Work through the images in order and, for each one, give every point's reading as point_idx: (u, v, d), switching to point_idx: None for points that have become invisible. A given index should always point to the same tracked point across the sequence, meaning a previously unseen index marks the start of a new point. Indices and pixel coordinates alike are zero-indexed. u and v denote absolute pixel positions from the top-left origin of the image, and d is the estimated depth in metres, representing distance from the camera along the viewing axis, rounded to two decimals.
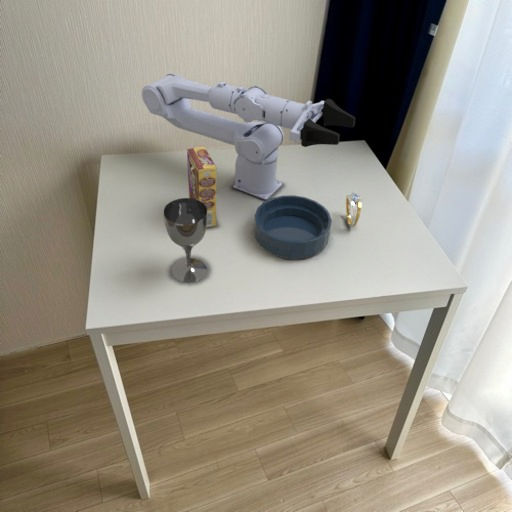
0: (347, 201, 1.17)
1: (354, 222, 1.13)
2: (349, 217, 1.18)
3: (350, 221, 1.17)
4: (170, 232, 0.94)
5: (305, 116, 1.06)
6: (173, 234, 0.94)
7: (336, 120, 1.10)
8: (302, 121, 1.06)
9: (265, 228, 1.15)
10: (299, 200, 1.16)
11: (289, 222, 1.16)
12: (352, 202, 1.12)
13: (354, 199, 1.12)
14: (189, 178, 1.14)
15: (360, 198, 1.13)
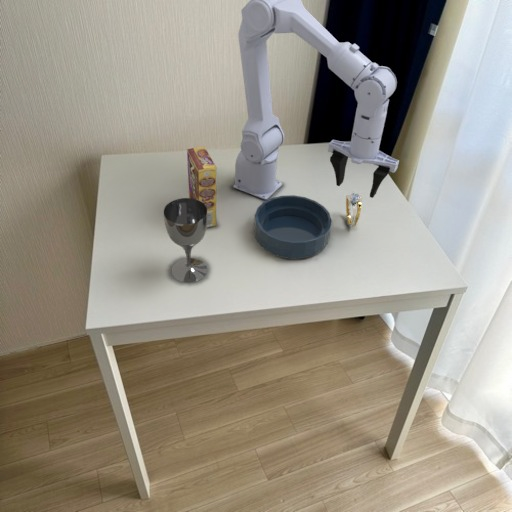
0: (347, 201, 1.17)
1: (354, 222, 1.13)
2: (349, 217, 1.18)
3: (350, 221, 1.17)
4: (170, 232, 0.94)
5: None
6: (173, 234, 0.94)
7: None
8: None
9: (265, 228, 1.15)
10: (299, 200, 1.16)
11: (289, 222, 1.16)
12: (352, 202, 1.12)
13: (354, 199, 1.12)
14: (189, 178, 1.14)
15: (360, 198, 1.13)
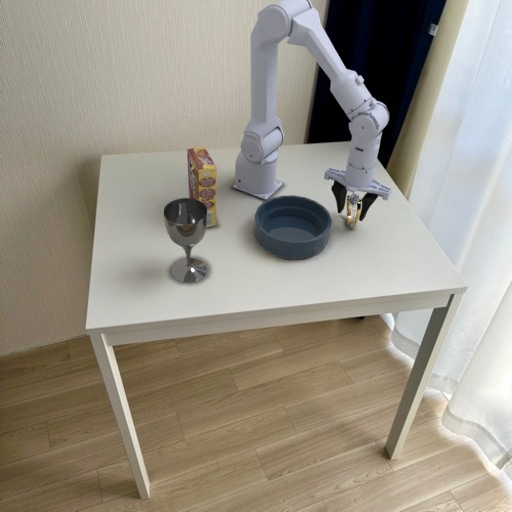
0: (347, 201, 1.17)
1: (354, 222, 1.13)
2: (349, 217, 1.18)
3: (350, 221, 1.17)
4: (170, 232, 0.94)
5: None
6: (173, 234, 0.94)
7: None
8: None
9: (265, 228, 1.15)
10: (299, 200, 1.16)
11: (289, 222, 1.16)
12: (352, 202, 1.12)
13: (354, 199, 1.12)
14: (189, 178, 1.14)
15: (360, 198, 1.13)
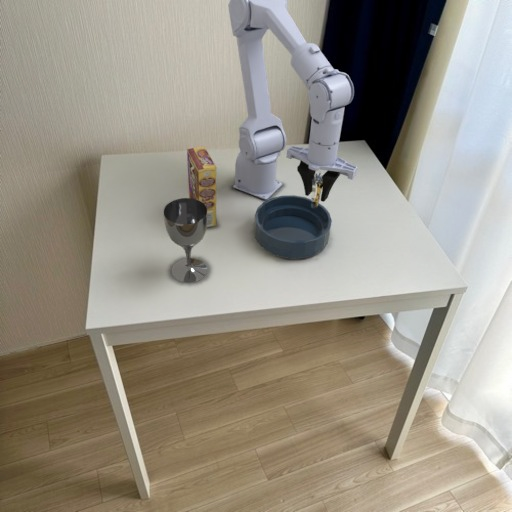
0: (317, 182, 1.10)
1: (313, 203, 1.06)
2: (317, 200, 1.11)
3: (315, 203, 1.10)
4: (170, 232, 0.94)
5: None
6: (173, 234, 0.94)
7: None
8: None
9: (265, 228, 1.15)
10: (299, 200, 1.16)
11: (289, 222, 1.16)
12: (313, 181, 1.05)
13: (317, 179, 1.05)
14: (189, 178, 1.14)
15: None
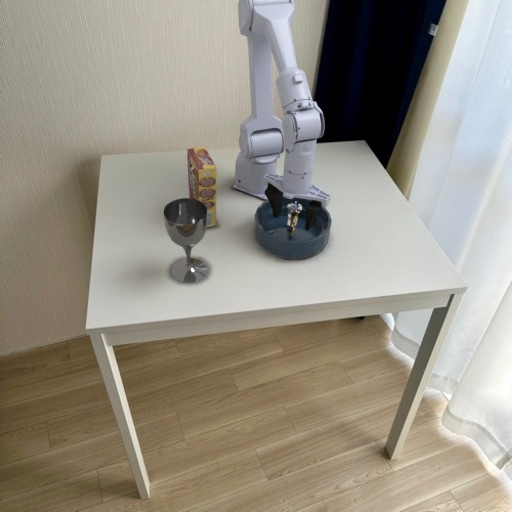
0: None
1: (288, 232, 1.09)
2: (293, 227, 1.14)
3: (292, 231, 1.13)
4: (170, 232, 0.94)
5: None
6: (173, 234, 0.94)
7: None
8: None
9: (265, 228, 1.15)
10: (299, 200, 1.16)
11: None
12: (289, 211, 1.08)
13: (292, 208, 1.08)
14: (189, 178, 1.14)
15: (300, 209, 1.08)
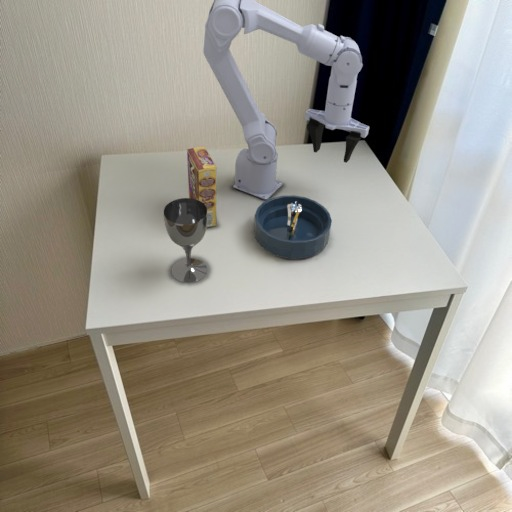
0: None
1: (288, 232, 1.09)
2: (293, 227, 1.14)
3: (292, 231, 1.13)
4: (170, 232, 0.94)
5: None
6: (173, 234, 0.94)
7: None
8: None
9: (265, 228, 1.15)
10: (299, 200, 1.16)
11: None
12: (289, 211, 1.08)
13: (292, 208, 1.08)
14: (189, 178, 1.14)
15: (300, 209, 1.08)
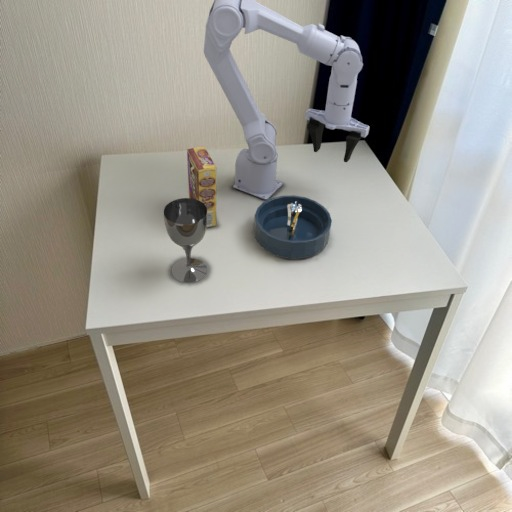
0: None
1: (288, 232, 1.09)
2: (293, 227, 1.14)
3: (292, 231, 1.13)
4: (170, 232, 0.94)
5: None
6: (173, 234, 0.94)
7: None
8: None
9: (265, 228, 1.15)
10: (299, 200, 1.16)
11: None
12: (289, 211, 1.08)
13: (292, 208, 1.08)
14: (189, 178, 1.14)
15: (300, 209, 1.08)
